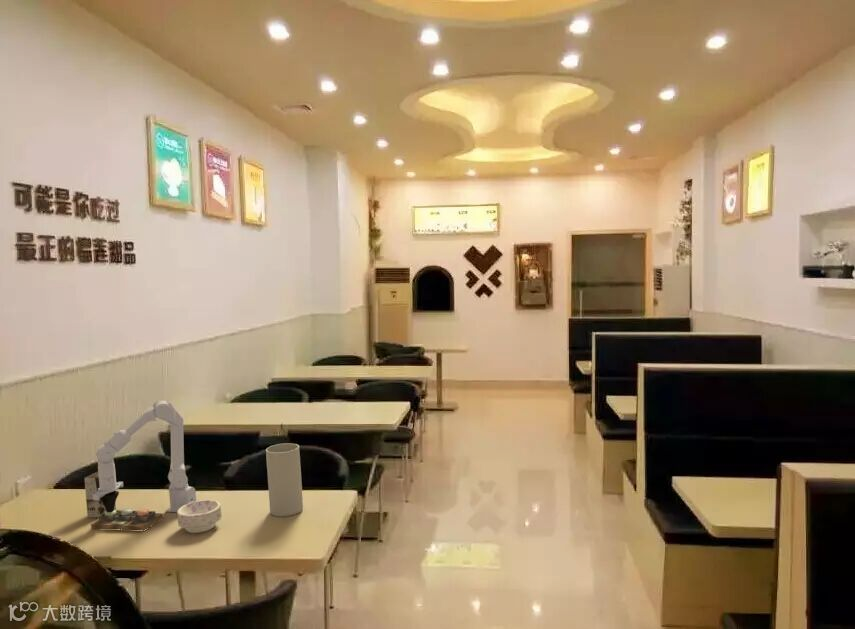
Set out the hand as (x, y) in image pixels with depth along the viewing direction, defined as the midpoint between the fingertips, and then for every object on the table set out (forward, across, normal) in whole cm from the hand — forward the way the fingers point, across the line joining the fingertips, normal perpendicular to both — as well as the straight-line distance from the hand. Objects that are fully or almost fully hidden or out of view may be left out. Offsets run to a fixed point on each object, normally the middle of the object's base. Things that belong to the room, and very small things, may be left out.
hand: (110, 511), depth 247 cm
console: (+4, 0, +7) cm, 8 cm away
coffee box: (+5, -9, -11) cm, 15 cm away
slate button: (+1, 0, +7) cm, 7 cm away
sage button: (+2, 0, 0) cm, 2 cm away
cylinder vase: (+5, -17, +64) cm, 66 cm away
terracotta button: (+1, 0, +14) cm, 14 cm away
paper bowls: (+5, +1, +38) cm, 38 cm away
